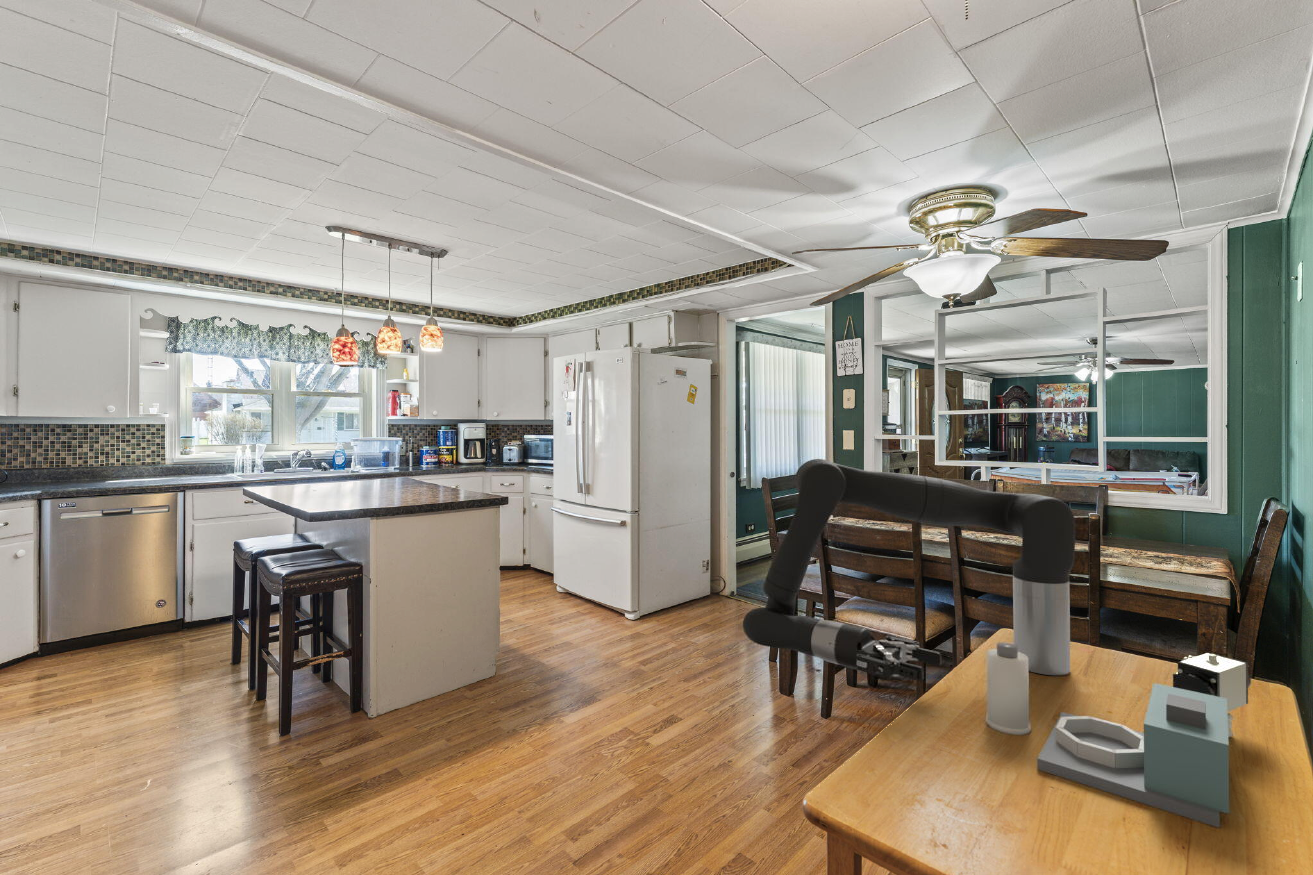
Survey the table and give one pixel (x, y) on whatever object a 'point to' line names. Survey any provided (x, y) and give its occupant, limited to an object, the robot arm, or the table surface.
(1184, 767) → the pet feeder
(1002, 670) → the bottle
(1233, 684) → the pneumatic valve
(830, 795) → the table surface
